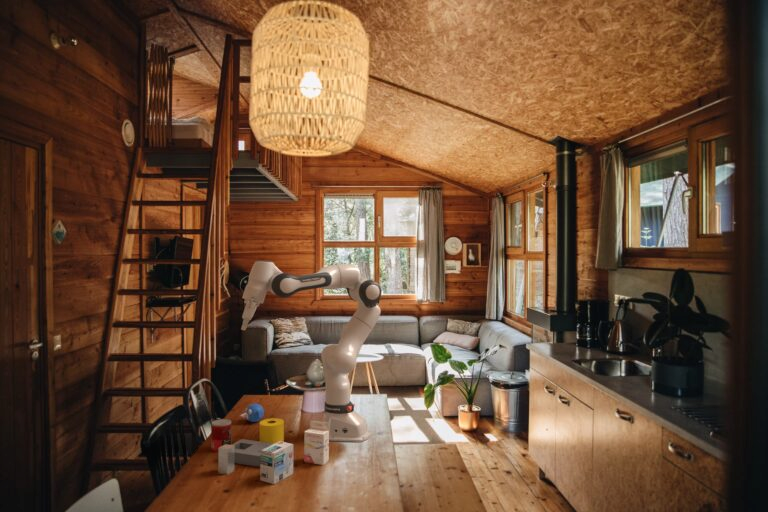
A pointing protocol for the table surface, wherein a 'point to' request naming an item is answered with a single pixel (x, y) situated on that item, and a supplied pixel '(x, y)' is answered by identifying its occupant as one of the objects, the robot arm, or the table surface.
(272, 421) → the tape roll
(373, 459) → the table surface
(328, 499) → the table surface
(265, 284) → the robot arm
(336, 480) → the table surface
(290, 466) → the light bulb box
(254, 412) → the blue mole toy
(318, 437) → the ink cartridge box
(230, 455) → the square peg
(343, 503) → the table surface
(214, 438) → the canned food
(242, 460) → the socket block
